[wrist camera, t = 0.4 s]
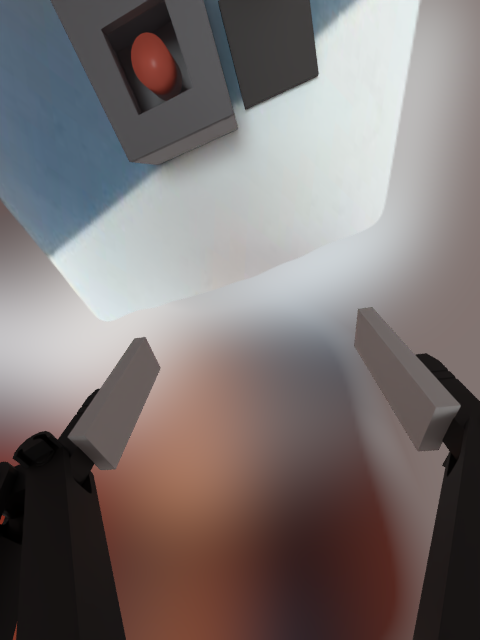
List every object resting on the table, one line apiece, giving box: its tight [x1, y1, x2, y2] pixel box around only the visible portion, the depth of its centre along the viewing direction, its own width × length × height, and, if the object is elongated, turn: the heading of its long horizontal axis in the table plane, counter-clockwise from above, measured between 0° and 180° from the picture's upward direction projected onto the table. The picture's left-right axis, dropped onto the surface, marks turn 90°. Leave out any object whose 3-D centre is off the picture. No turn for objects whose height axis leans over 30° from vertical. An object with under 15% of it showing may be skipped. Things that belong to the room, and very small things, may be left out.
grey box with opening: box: [51, 0, 238, 165], centre depth 25 cm, size 12×12×9 cm
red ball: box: [131, 32, 182, 101], centre depth 23 cm, size 4×4×4 cm
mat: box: [218, 0, 318, 109], centre depth 26 cm, size 9×9×1 cm
